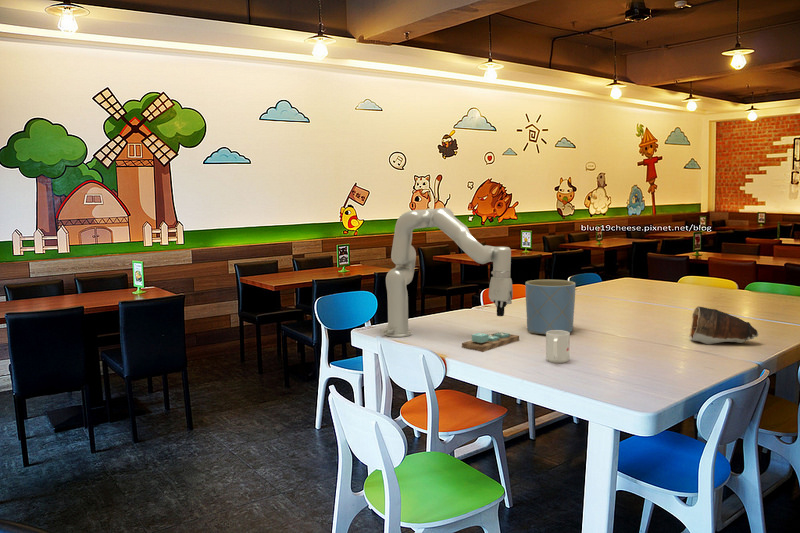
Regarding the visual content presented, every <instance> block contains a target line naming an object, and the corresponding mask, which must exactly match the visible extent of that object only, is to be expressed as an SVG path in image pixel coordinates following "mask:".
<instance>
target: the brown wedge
mask: <svg viewBox="0 0 800 533" xmlns="http://www.w3.org/2000/svg"><path fill="white" fill-rule="evenodd" d="M691 318H692V319H691V320H692V321H691V328H690V334H689V341H693V342H697V343H701V344H705V345H713V344H717V343H718V344H719V343H724V342H726V343H727V342H729V343H730V342H731V343H738V344H739V343H741V344H742V343H745V342H747V341H750V340H754V339H755V338H757V337H759V333H758V332H759V331H758V330H757V329H756V328H754V327H753V326H752V325H751V323H750V322H749V321H745V320H744V319H741V318H740V317H737V316H735V315H731V314H729V313H726V312H725V311H724V312H723V311H721V310H718V309H717V308H708V307H704V306H697V307H695V308H694V310H693V313H692V317H691Z"/></svg>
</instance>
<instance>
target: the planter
mask: <svg viewBox="0 0 800 533" xmlns="http://www.w3.org/2000/svg"><path fill="white" fill-rule="evenodd" d="M524 284H525V308H526V310H525V311H526V327H527V328H526V329H527V330H528V333H529V334H539V335H540V334H541V335H546V332H547V331H550V330H563V331H567V332H569V333H572V331H574V319H575V318H574V316H575V305H576V304H575V303H576V302H575V301H576V300H575V299H576V282H575V281H572V280H565V279H534V280H532V279H530V280H527V281H525V283H524Z"/></svg>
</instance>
